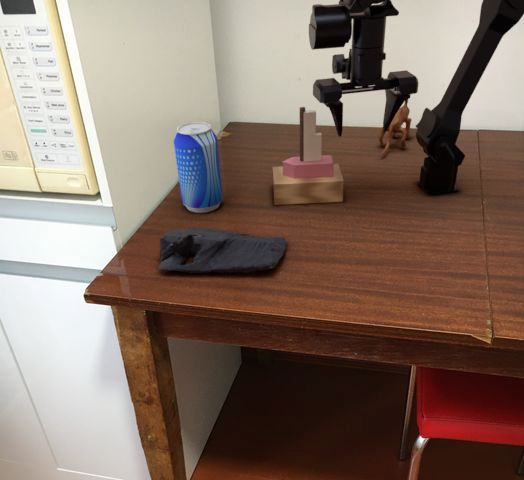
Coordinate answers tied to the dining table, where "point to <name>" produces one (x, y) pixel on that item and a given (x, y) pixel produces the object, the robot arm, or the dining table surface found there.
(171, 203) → the dining table surface
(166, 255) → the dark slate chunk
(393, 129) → the brown animal figurine
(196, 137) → the beer can
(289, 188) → the wood block
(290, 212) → the dining table surface
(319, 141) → the toy boat
